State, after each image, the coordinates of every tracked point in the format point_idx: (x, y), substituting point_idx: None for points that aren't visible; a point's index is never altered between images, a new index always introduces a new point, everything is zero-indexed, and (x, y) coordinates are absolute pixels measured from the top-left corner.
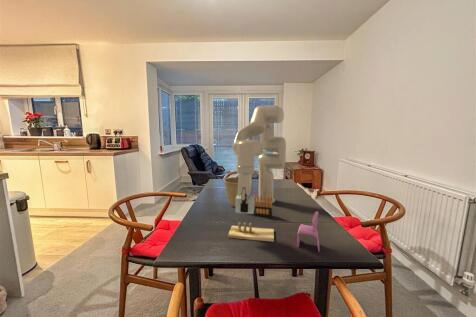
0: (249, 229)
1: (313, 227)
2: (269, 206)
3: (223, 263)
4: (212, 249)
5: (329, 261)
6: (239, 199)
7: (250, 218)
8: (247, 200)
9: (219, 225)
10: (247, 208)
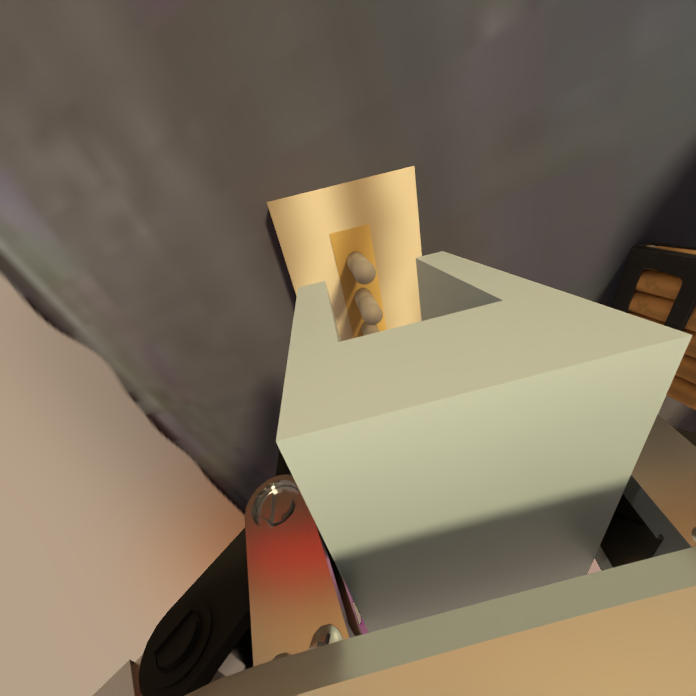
0: (365, 330)
1: (361, 617)
2: (672, 381)
3: (28, 297)
4: (74, 160)
5: None
6: (316, 502)
7: (573, 250)
8: (347, 594)
9: (423, 14)
10: None
